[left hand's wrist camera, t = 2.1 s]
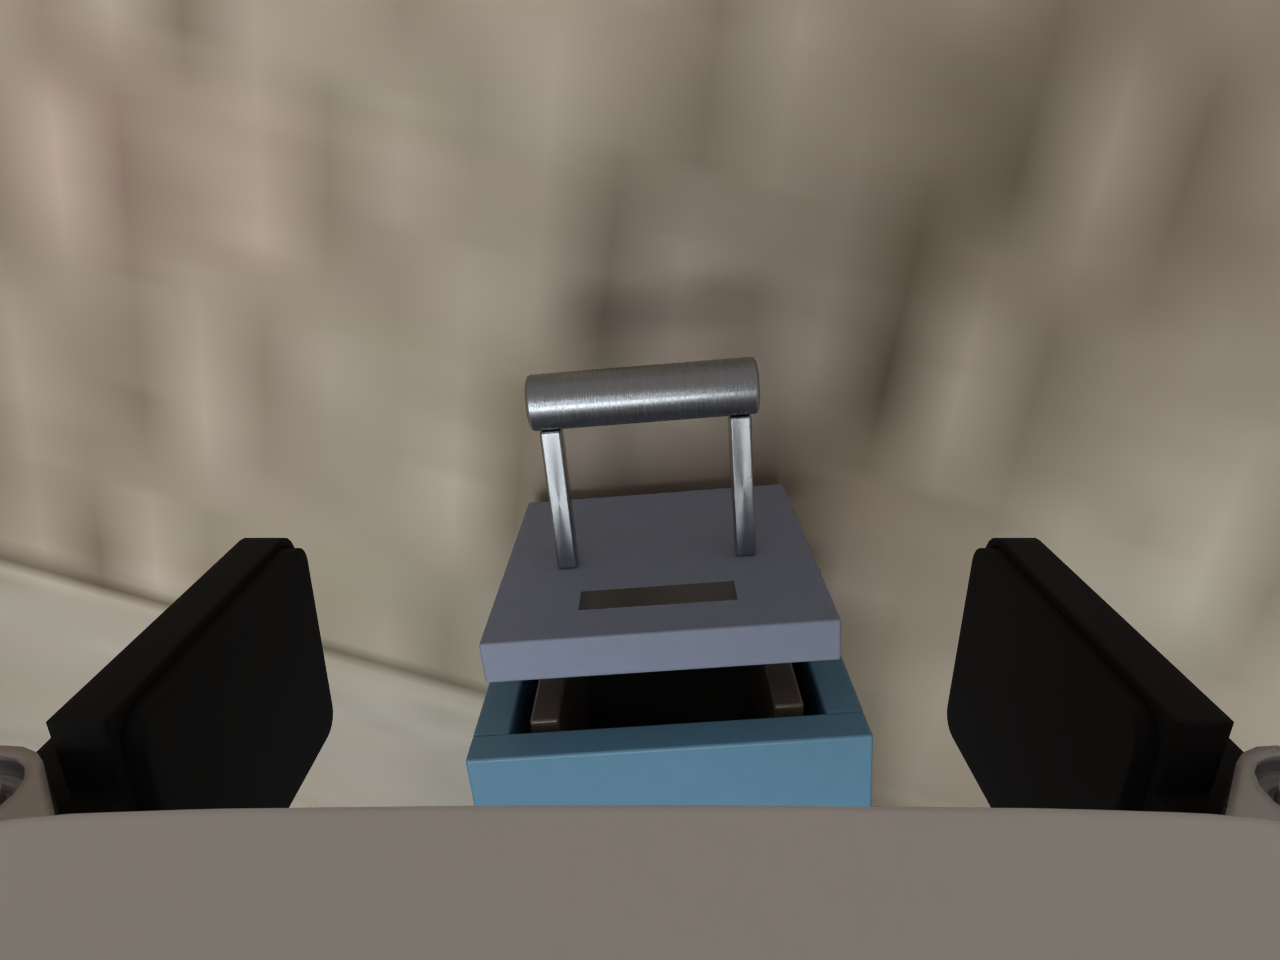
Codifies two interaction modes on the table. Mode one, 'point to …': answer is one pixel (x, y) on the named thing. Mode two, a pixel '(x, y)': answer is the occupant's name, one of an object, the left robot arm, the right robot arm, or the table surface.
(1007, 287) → the table surface
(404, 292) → the table surface
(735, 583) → the drawer
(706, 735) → the blue storage bin
